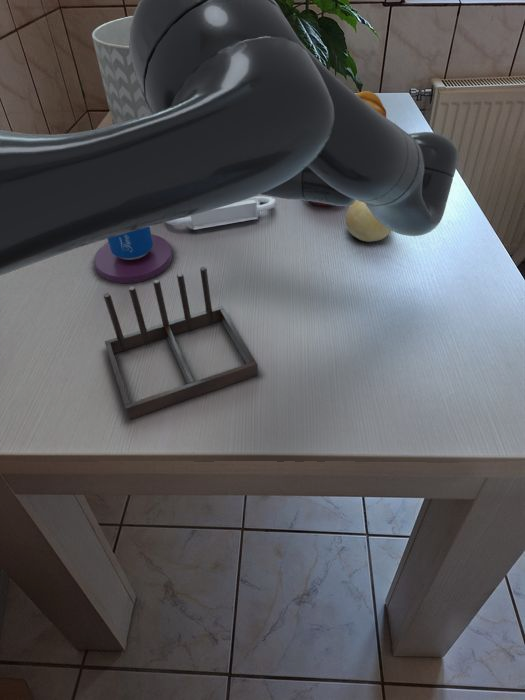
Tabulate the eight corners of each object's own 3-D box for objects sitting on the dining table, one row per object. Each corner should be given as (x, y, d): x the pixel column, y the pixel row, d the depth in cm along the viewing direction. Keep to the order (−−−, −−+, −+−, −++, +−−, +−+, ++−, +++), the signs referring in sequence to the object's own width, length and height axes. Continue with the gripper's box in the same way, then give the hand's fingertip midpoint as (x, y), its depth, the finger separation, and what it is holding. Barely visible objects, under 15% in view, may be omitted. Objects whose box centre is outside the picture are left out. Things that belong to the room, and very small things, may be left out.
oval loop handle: (270, 206, 93) (268, 185, 91) (282, 217, 86) (281, 195, 84) (163, 224, 89) (159, 203, 87) (167, 237, 82) (163, 214, 81)
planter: (228, 190, 94) (217, 48, 78) (104, 184, 98) (67, 46, 81) (251, 137, 112) (246, 11, 95) (145, 133, 115) (121, 11, 98)
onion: (334, 235, 82) (337, 195, 77) (363, 216, 86) (368, 178, 81) (373, 253, 78) (379, 213, 73) (402, 233, 82) (410, 193, 77)
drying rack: (129, 419, 57) (109, 365, 50) (108, 351, 65) (89, 297, 58) (258, 375, 61) (255, 320, 54) (223, 316, 69) (217, 262, 62)
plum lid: (104, 291, 74) (101, 282, 72) (90, 250, 81) (87, 241, 80) (181, 270, 77) (180, 260, 75) (161, 232, 85) (159, 223, 83)
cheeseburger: (366, 122, 116) (377, 79, 107) (387, 150, 111) (401, 107, 102) (327, 128, 113) (335, 85, 105) (347, 157, 108) (358, 115, 100)
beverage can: (110, 264, 75) (88, 190, 67) (114, 241, 80) (94, 169, 71) (152, 260, 76) (136, 187, 67) (154, 237, 80) (139, 165, 72)
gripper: (295, 108, 60) (178, 94, 65) (249, 156, 51) (116, 135, 56) (294, 168, 66) (186, 151, 70) (252, 221, 56) (130, 197, 61)
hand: (155, 144), depth 63 cm, fingers open, 8 cm apart
